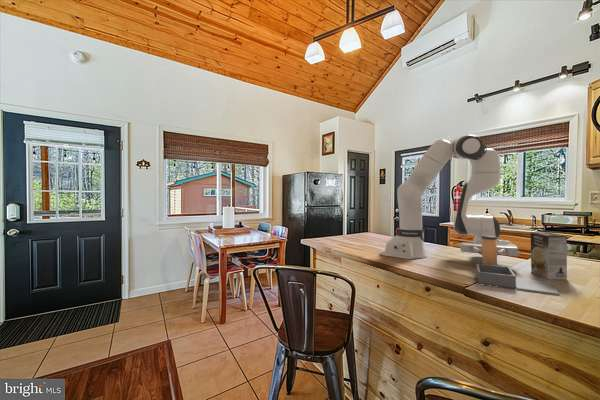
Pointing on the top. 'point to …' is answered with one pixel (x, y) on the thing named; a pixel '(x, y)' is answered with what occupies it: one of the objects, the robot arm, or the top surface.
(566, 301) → the top surface
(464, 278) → the top surface
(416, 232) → the robot arm
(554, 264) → the coffee box
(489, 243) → the lidded coffee cup
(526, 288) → the mailer box
